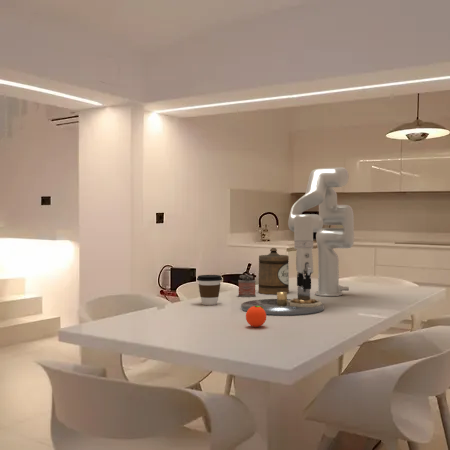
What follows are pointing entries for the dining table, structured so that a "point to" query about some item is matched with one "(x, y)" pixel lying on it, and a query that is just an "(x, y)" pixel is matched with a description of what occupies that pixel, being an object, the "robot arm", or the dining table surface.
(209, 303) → the coffee cup
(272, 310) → the carrier plate
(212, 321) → the dining table surface
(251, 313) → the clementine
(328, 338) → the dining table surface
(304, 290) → the gear
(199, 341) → the dining table surface
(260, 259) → the wooden container
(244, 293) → the lighter
